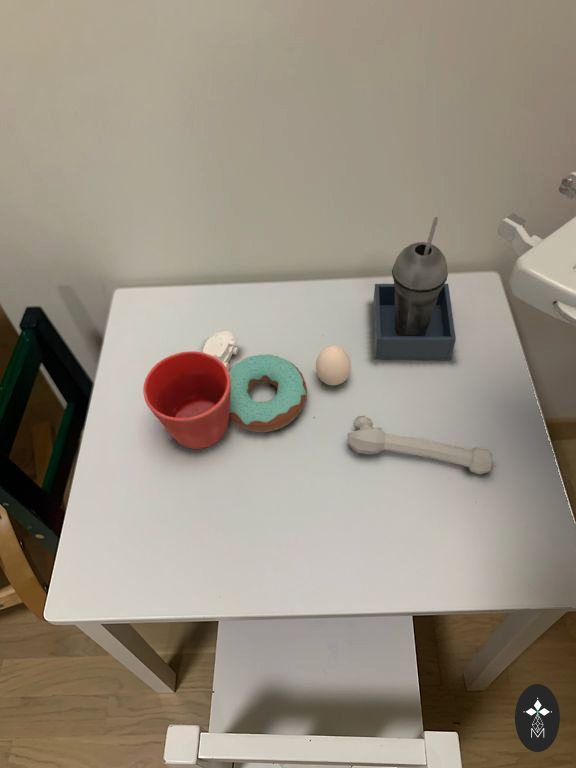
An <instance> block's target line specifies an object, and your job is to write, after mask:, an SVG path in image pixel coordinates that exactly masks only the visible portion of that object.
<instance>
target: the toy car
mask: <svg viewBox="0 0 576 768" xmlns="http://www.w3.org/2000/svg"><path fill="white" fill-rule="evenodd" d="M235 342H236V339H235V337H234V335H233V334H232V332H230V331H229V330H222V331H220V332H217V333H212V336H211V337H209V338H207V340H206V342H205V344H204V346H203V348H202V352H203V353H206V354H209V355H211V356H214V357H215V358H217V359H218V360H220V361H221V362H222V363H223V364H224V365H225V367H226V368H227V370H228V372H229V371H230V369H231V368H230V367H231V366H230V363H229V362H230V361H231V358H232V356H233V355H234V356H235V355H237V354H238V351H239V348H238V347H237V346H235Z"/></svg>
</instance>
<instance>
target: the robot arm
mask: <svg viewBox="0 0 576 768" xmlns="http://www.w3.org/2000/svg"><path fill="white" fill-rule="evenodd" d="M558 191H559V193H560V194H561V195H565V196H566V197H567V198H569V199H571V200H574V199H576V171H572V172H570V173H569V174H568V175H566V176H564V177H563V178H562V180H561V181H560V184H559V188H558ZM526 224H527V220H526V219H524V218H522V217H521V216H520V217H519V216H518V215H517V214H516V213H511V214H509V215H507V216H506V217H504V219H502V220H500V222H499V224H498V228H497V233H498V235H499V236H500V237H502V238H503V239H505V240H506V241H508V242H510V245H511V247H512V249H513V251H514V253H515V255H516V257H517V259H516V261H515V263H514V265H513V268H512V271H511V274H510V276H509V279H508V285H509V290H510V292H511V294H512V295H513V296H515V297H516V298H518V299H520V300H521V301H523V302H524V303H526V304H528V305H529V306H531V307H533V308H535V309H537V310H539V311H541V312H542V313H545V314H547V315H549V316H551V317H553V318H554V319H557V320H559V321H561V322H565V323H568V324H570V325H571V326H574V327H575V328H576V216H574V217H573V218H571V219H570V220H569V221H567V222H565V224H563V225H562V226H560V227H558V229H556V230H554V232H552V233H550V234H549V235H547V236H546V237H545V238H541V237H539V235H535V234H533V235H532V236H530V235H529V234H528V232H527V231H526V229H525V226H526Z"/></svg>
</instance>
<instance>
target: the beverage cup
mask: <svg viewBox="0 0 576 768" xmlns="http://www.w3.org/2000/svg"><path fill="white" fill-rule="evenodd" d="M438 221H439V217H438V216H434V217H433V221H432V223H431V228H430V231H429V234H428V238H427V242H425V241H419V242H414V243H411V244H409V245H408V246H406V247H404V248H403V249H402V250H401V251H400V252H399V254H398V255H397V256H396V259H395V261H394V264H393V266H392V269H391V274H392V275H391V276H392V278H393V284H394V286H395V330H396V333H397V335H398V336H424V335H425V333H426V330H427V328H428V326H429V323H430V320H431V317H432V314H433V311H434V308H435V305H436V302H437V299H438V296H439V293H440V291H441V290H442V288H443V286H444V284H446V282H447V280H448V275H449V272H448V263H447V259H446V256H445V255H444V253H443V252H442V250H441V249H440V248H439V247H438V246H435V244H432V243H433V239H434V235H435V232H436V228H437V225H438Z"/></svg>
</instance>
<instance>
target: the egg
mask: <svg viewBox="0 0 576 768" xmlns="http://www.w3.org/2000/svg"><path fill="white" fill-rule="evenodd" d="M351 369H352V365H351V358H350V356H349V354H348V352H346V350H345V349H344V348H343V347H341V346H339V345H335V344H331V345H328V346H326V347H325V348H323V349H321V351H320V352H319V354H318V356H317V358H316V360H315V371H316V375H317V376H318V379H320V380H321V382H323V384H326V385H329V386H338V385H341V384H343V383H344V382H346V380H348V378H349V376H350V373H351Z"/></svg>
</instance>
